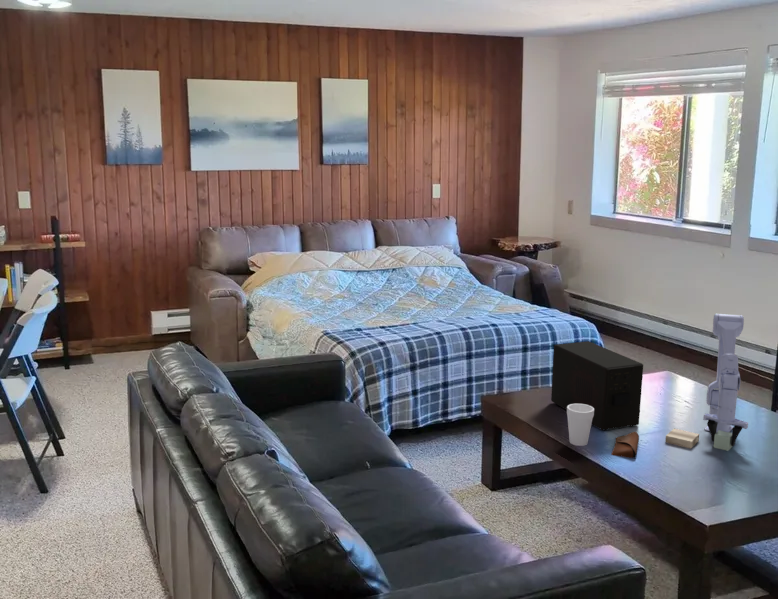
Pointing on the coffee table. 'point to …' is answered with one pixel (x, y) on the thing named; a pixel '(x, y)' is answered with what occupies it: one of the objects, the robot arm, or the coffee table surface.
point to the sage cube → (723, 440)
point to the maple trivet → (682, 438)
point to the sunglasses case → (626, 445)
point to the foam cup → (579, 423)
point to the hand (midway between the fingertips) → (723, 443)
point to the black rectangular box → (598, 383)
